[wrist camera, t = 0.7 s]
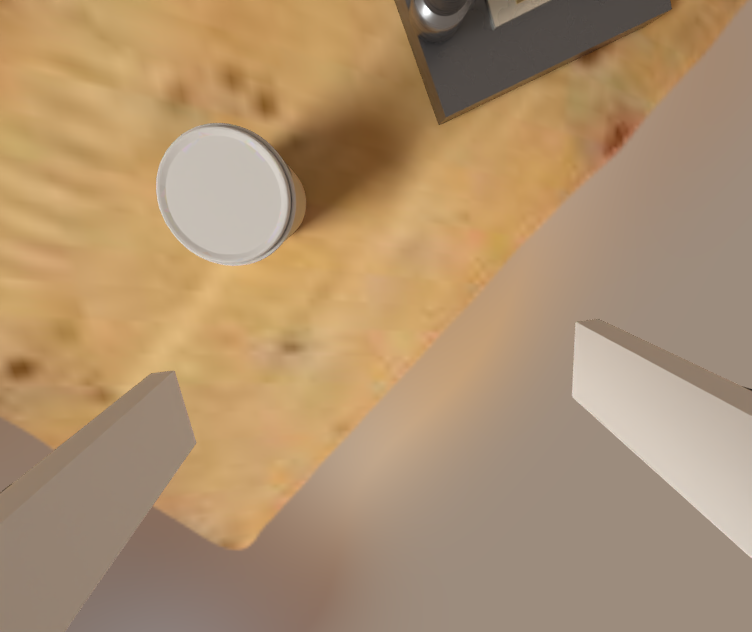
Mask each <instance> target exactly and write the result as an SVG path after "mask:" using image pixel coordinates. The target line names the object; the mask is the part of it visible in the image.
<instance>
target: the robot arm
mask: <svg viewBox="0 0 752 632" xmlns="http://www.w3.org/2000/svg"><path fill="white" fill-rule="evenodd" d="M572 397H573V398H574V399H575V400H576V401H577V402H578V403H579V404H581V405H582V406H583V407H584V408H585V409H586V410H587V411H589V413H591V414H592V415H593V416H594V417H595V418H596V419H597V420H598V421H600V422H601V423H602V424H603V425H604V426H605V427H606V428H607V429H608V430H610V431H611V432H612V433H613V434H614V435H615V436H616V437H617V438H618V439H620V440H621V441H622V442H623V443H624V444H625V445H626V446H627V447H628V448H630V449H631V450H632V451H633V452H634V453H635V454H636V455H637V456H638V457H640V458H641V459H642V460H643V461H644V462H645V463H647V465H648V466H650V467H651V468H652V469H653V470H654V471H655V472H656V473H657V474H658V475H660V476H661V477H662V478H663V479H664V480H665V481H666V482H668V483H669V484H670V485H671V486H672V487H673V488H674V489H675V490H676V491H677V492H678V493H680V494H681V495H682V496H683V497H684V498H685V499H686V500H687V501H688V502H690V503H691V504H692V505H693V506H694V507H695V508H696V509H697V510H698V511H700V512H701V513H702V514H703V515H704V516H705V517H706V518H707V519H709V520H710V521H711V522H712V523H713V524H714V525H715V526H716V527H717V528H718V529H720V530H721V531H722V532H723V533H724V534H725V535H726V536H727V537H728V538H730V539H731V540H732V541H733V542H734V543H735V544H736V545H737V546H738V547H740V548H741V549H742V550H743V551H744V552H745V553H746V554H747V555H748V556H750V557H751V558H752V389H749V388H746V387H743V386H740V385H738V384H736V383H734V382H731V381H729V380H727V379H725V378H723V377H721V376H719V375H717V374H714V373H712V372H710V371H708V370H706V369H704V368H702V367H700V366H697V365H695V364H693V363H691V362H689V361H687V360H685V359H682V358H681V357H678V356H676V355H674V354H672V353H670V352H668V351H666V350H664V349H661V348H659V347H657V346H655V345H653V344H651V343H649V342H647V341H644V340H642V339H640V338H638V337H636V336H634V335H632V334H630V333H628V332H625V331H623V330H621V329H619V328H617V327H615V326H613V325H610V324H608V323H606V322H604V321H602V320H600V319H594V320H586V321H578V322H576V325H575V344H574V366H573V386H572ZM195 444H196V440H195V437H194V433H193V430H192V427H191V424H190V420H189V417H188V414H187V410H186V407H185V404H184V400H183V397H182V394H181V391H180V387H179V384H178V381H177V377H176V374H175V371H167V372H159V373H151V374H150V375H148V376H147V377H146V378H145V379H143V380H142V381H141V382H140V383H138V384H137V385H136V386H134V387H133V388H132V389H131V390H129V391H128V392H127V393H126V394H124V395H123V396H122V397H121V398H119V399H118V400H117V401H116V402H114V403H113V404H112V405H111V406H109V407H108V408H107V409H106V410H104V411H103V412H102V413H101V414H99V415H98V416H97V417H96V418H94V419H93V420H92V421H90V422H89V423H88V424H87V425H85V426H84V427H83V428H82V429H80V430H79V431H78V432H77V433H75V434H74V435H73V436H72V437H70V438H69V439H68V440H67V441H65V442H64V443H63V444H62V445H60V446H59V447H58V448H57V449H55V450H54V451H53V452H52V453H50V454H49V455H48V456H46V457H45V458H44V459H43V460H41V461H40V462H39V463H38V464H37V465H35V466H34V467H33V468H31V469H30V470H29V471H28V472H26V473H25V474H24V475H23V476H21V477H20V478H19V479H18V480H16V481H15V482H14V483H13V484H11V485H9V486H8V487H7V488H5V489H4V490H3V491H2V492H0V632H65V631H66V630H67V628H68V627H69V625H70V624H71V622H72V621H73V619H74V618H75V617H76V615H77V614H78V612H79V611H80V609H81V608H82V606H83V605H84V603H85V602H86V601H87V599H88V598H89V596H90V595H91V594H92V592H93V591H94V589H95V588H96V586H97V585H98V584H99V582H100V581H101V579H102V578H103V576H104V575H105V573H106V572H107V570H108V569H109V567H110V566H111V565H112V563H113V562H114V560H115V559H116V558H117V556H118V554H119V553H120V552H121V550H122V549H123V548H124V546H125V545H126V543H127V542H128V540H129V539H130V538H131V536H132V535H133V533H134V532H135V530H136V529H137V527H138V526H139V525H140V523H141V522H142V520H143V519H144V517H145V516H146V514H147V513H148V512H149V510H150V509H151V507H152V506H153V504H154V503H155V502H156V500H157V499H158V497H159V496H160V494H161V493H162V492H163V490H164V489H165V487H166V486H167V484H168V483H169V481H170V480H171V479H172V477H173V476H174V474H175V473H176V471H177V470H178V469H179V467H180V466H181V464H182V463H183V461H184V460H185V458H186V457H187V456H188V454H189V453H190V451H191V450H192V448H193V447H194V445H195Z"/></svg>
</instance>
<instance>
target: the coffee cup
mask: <svg viewBox="0 0 752 632" xmlns="http://www.w3.org/2000/svg"><path fill="white" fill-rule="evenodd" d="M156 193H157V200H158V204H159V208H160V211H161V213H162V216H163V218H164V220H165V222H166V224H167V226H168V227H169V229H170V230H171V232H172V233H173V234H174V236H175V237H176V238H177V239H178V240H179V241H180V242H181V243H182V244H183V245H184V246H185V247H186V248H187V249H189V250H190V251H191V252H193V253H194V254H196V255H197V256H199V257H201V258H203V259H205V260H208V261H210V262H214V263H217V264H222V265H231V266H238V265H247V264H251V263H255V262H257V261H260V260H262V259H264V258H266V257H268V256H269V255H270V254H272V253H273V252H274V251H275V250H277V249H278V248H279V246H280V245H281V244H282V243H283V242H284V241H285V240H286V239H287V238H289V237H290V236H291V235H292V234H293V233H294V232H295V231H296V230H297V229H298V227H299V226H300V224H301V223H302V221H303V219H304V216H305V212H306V195H305V191H304V188H303V185H302V183H301V181H300V180H299V178H298V177H297V175H296V174H295V173H294V171H293V170H292V169H291V168H290V167H289V166H288V165H287V164H286V162H285V161H284V160H283V159H282V157H281V156H280V155H279V153H278V152H277V151H276V150H275V149H274V148H273V147H272V146H271V145H270V144H269V143H268V142H267V141H266V140H264V139H263V138H262V137H260V136H259V135H257V134H256V133H254V132H252V131H250V130H248V129H245V128H243V127H240V126H236V125H231V124H225V123H210V124H204V125H201V126H197V127H195V128H192V129H190V130H188V131H187V132H185V133H183V134H182V135H181V136H179V137H178V138H177V139H176V140H175V141H174V142H173V143H172V144H171V146H170V147H169V148H168V150H167V151H166V153H165V154H164V156H163V158H162V160H161V163H160V166H159V169H158V173H157V180H156Z"/></svg>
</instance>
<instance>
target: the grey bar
mask: <svg viewBox="0 0 752 632" xmlns="http://www.w3.org/2000/svg"><path fill="white" fill-rule="evenodd" d="M466 1H467V0H423V2H424V3H425V5H426V7H427V8H428V9H429V10H430V11H431V12H432V13H434V14H436V15H439V16H450V15H453V14H455V13H457V12H458V11H459V10H460V9H461V8H462V7H463V6H464V5H465V3H466Z"/></svg>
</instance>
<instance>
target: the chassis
mask: <svg viewBox="0 0 752 632" xmlns="http://www.w3.org/2000/svg"><path fill="white" fill-rule="evenodd" d="M395 3H396V6H397V9H398V12H399V14H400V17H401V20H402V23H403V26H404V28H405V31H406V34H407V37H408V40H409V43H410V45H411V48H412V51H413V54H414V57H415V59H416V62H417V65H418V68H419V71H420V74H421V76H422V79H423V82H424V85H425V88H426V90H427V93H428V96H429V99H430V102H431V105H432V107H433V110H434V113H435V116H436V119H437V121H438V124H439V125H440V124H442V123H444V122H447V121H449V120H451V119H453V118H455V117H457V116H459V115H461V114H463V113H465V112H467V111H470V110H472V109H474V108H476V107H478V106H480V105H482V104H484V103H486V102H488V101H490V100H492V99H495V98H497V97H499V96H501V95H503V94H505V93H507V92H509V91H511V90H513V89H515V88H517V87H520V86H522V85H524V84H526V83H528V82H530V81H532V80H534V79H536V78H538V77H540V76H543V75H545V74H547V73H549V72H551V71H553V70H555V69H557V68H559V67H561V66H563V65H565V64H568V63H570V62H572V61H574V60H576V59H578V58H580V57H582V56H584V55H586V54H588V53H591V52H593V51H595V50H597V49H599V48H601V47H603V46H605V45H607V44H609V43H611V42H613V41H616V40H618V39H620V38H622V37H624V36H626V35H628V34H630V33H632V32H634V31H636V30H639V29H641V28H643V27H645V26H646V25H648V24H649V23H651V22H652V21H654V20H656V19H657V18H659V17H660V16H662V15H663V14H665V13H666V12H668V11H670V10H671V9H672V8H671V2H670V0H467V1H466V3H465V5H464V6H463V7H462V8H461V9H460V10H459V11H458V12H457V13H455V14H453V15H450V16H439V15H436V14H434V13H432V12H431V11H430V10H429V9H428V8H427V7H426V5H425V3H424V2H423V0H395Z"/></svg>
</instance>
